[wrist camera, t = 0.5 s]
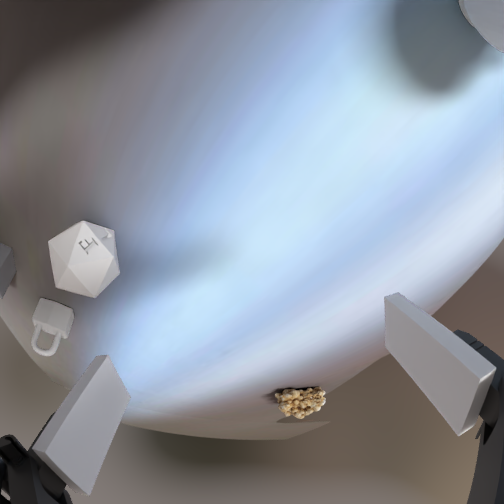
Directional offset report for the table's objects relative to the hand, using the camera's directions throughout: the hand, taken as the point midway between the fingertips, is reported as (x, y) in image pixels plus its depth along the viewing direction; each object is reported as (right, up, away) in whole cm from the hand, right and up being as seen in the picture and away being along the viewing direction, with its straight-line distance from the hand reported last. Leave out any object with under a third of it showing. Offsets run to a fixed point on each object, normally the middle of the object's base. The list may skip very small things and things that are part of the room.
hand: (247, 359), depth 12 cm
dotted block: (-40, +4, +20) cm, 45 cm away
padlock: (-35, -5, +29) cm, 46 cm away
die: (-19, +7, +18) cm, 27 cm away
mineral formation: (+12, -35, +60) cm, 70 cm away
